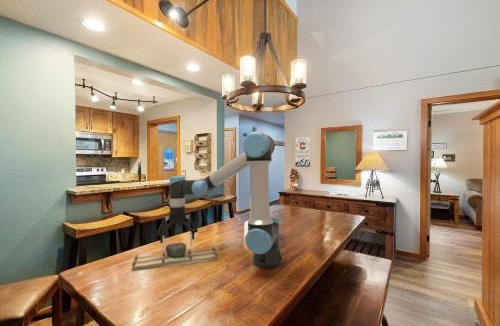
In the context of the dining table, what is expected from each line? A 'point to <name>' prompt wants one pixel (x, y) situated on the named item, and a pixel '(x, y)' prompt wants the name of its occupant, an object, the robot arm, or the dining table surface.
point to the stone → (176, 249)
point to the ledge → (174, 259)
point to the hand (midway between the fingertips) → (177, 247)
